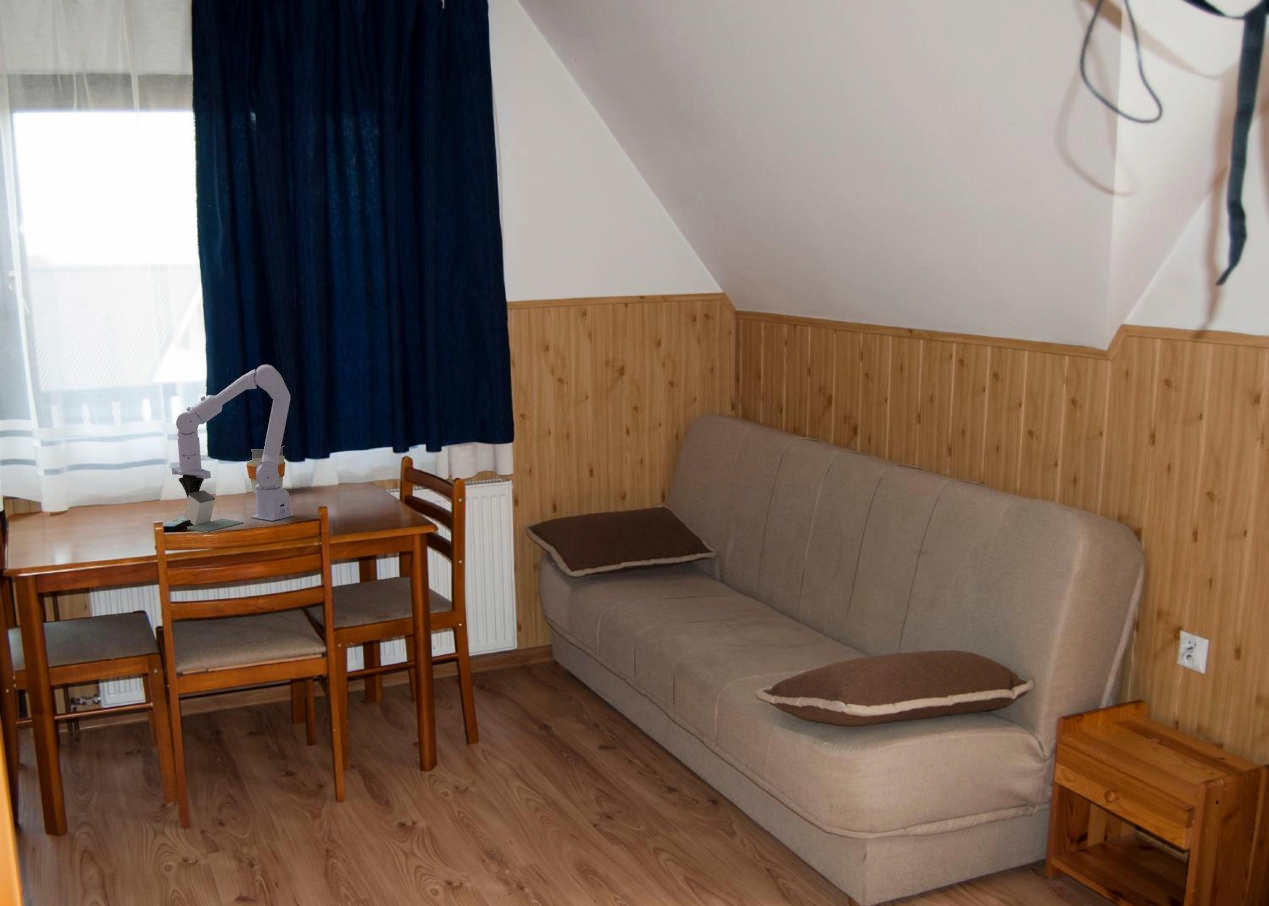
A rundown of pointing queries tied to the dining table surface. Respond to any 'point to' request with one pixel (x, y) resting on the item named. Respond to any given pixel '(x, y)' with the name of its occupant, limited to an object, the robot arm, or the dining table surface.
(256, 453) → the reusable coffee cup
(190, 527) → the dice mat
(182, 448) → the robot arm
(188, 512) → the gray block
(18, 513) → the dining table surface
